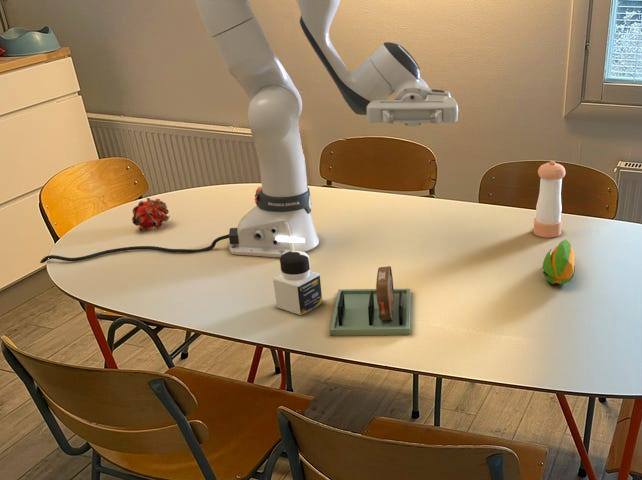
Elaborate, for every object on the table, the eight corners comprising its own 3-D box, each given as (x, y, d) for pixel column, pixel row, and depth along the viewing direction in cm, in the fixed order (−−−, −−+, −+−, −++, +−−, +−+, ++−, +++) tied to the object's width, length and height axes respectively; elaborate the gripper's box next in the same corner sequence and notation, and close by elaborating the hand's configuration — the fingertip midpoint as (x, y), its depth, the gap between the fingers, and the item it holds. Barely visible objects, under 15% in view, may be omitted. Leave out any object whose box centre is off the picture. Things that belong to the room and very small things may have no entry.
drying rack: (330, 335, 149) (328, 314, 147) (338, 294, 165) (337, 274, 163) (409, 334, 150) (408, 313, 147) (410, 294, 166) (410, 273, 163)
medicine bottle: (301, 316, 157) (295, 263, 150) (276, 308, 160) (269, 256, 154) (323, 303, 162) (318, 252, 156) (298, 295, 165) (292, 245, 159)
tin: (392, 327, 151) (390, 290, 147) (376, 327, 151) (374, 290, 147) (394, 294, 164) (393, 259, 160) (380, 294, 164) (378, 259, 160)
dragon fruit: (173, 225, 206) (143, 246, 197) (149, 205, 205) (117, 225, 197) (180, 205, 199) (149, 226, 191) (155, 185, 199) (123, 205, 190)
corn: (542, 258, 164) (551, 226, 180) (537, 289, 168) (546, 255, 184) (575, 263, 162) (581, 230, 179) (570, 294, 167) (576, 259, 183)
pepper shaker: (565, 231, 199) (571, 160, 189) (553, 239, 193) (559, 167, 183) (540, 225, 202) (545, 155, 192) (528, 234, 197) (533, 162, 187)
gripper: (366, 91, 169) (362, 105, 157) (456, 91, 169) (459, 104, 157) (368, 119, 172) (364, 135, 160) (456, 119, 173) (458, 134, 161)
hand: (412, 120), depth 159 cm, fingers open, 8 cm apart
